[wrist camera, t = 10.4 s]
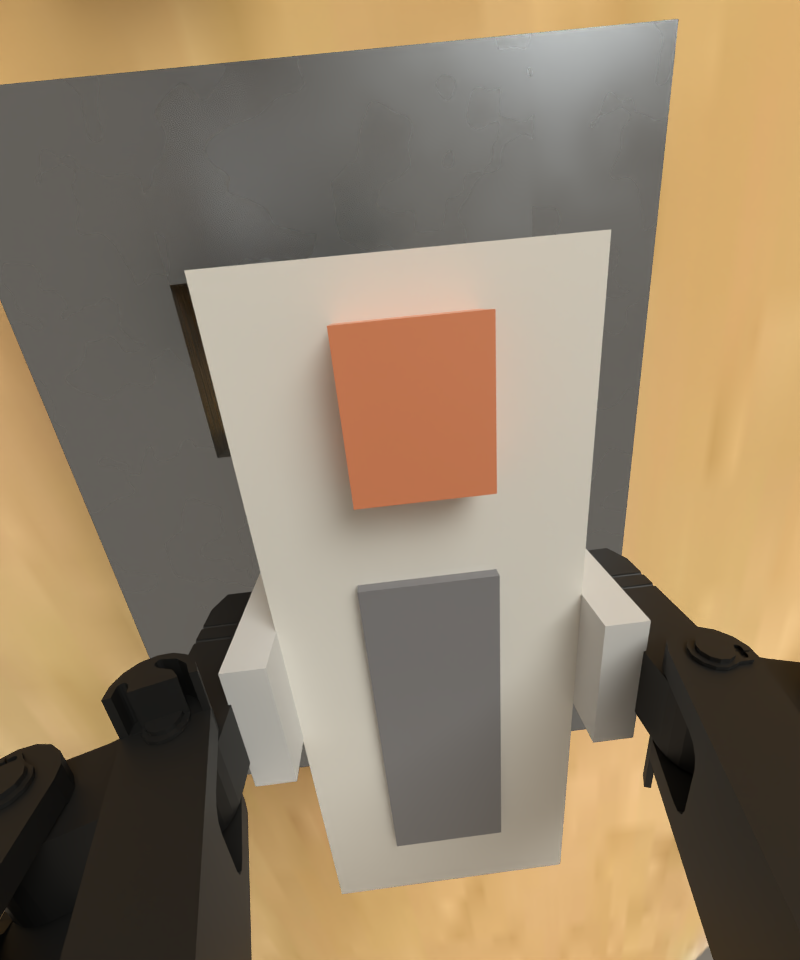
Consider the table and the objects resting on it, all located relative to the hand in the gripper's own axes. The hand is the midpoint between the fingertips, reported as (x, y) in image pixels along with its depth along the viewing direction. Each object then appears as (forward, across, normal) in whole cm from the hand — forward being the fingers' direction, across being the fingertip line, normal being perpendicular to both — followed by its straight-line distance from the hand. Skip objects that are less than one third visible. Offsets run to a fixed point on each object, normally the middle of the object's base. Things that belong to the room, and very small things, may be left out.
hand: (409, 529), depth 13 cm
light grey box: (+4, 0, 0) cm, 4 cm away
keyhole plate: (+5, -1, 0) cm, 5 cm away
